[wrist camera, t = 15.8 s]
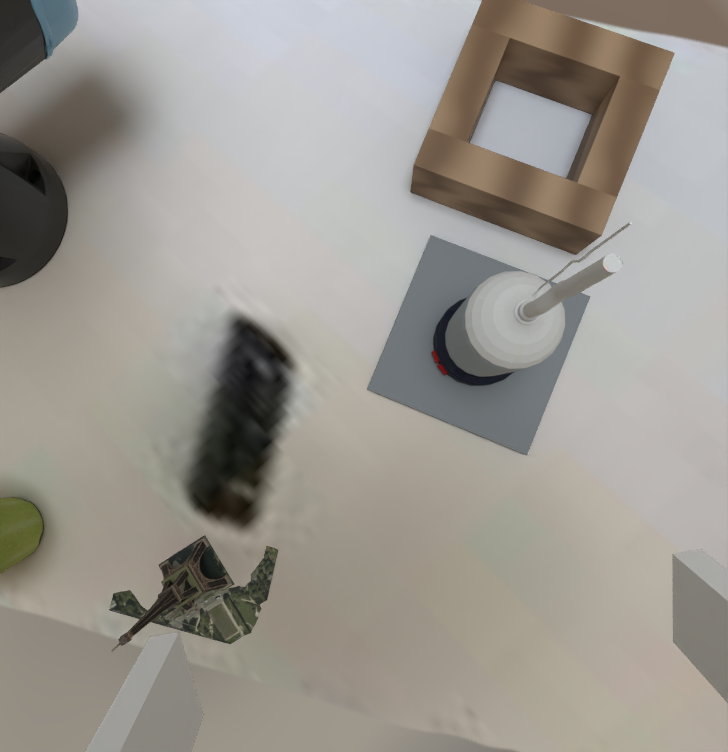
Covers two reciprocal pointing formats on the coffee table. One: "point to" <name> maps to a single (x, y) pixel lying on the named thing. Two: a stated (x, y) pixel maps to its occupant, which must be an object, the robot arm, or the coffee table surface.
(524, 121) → the coffee table surface
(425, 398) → the mat
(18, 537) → the plant pot
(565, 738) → the coffee table surface
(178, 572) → the eiffel tower figurine
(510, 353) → the humidifier
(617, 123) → the dock
